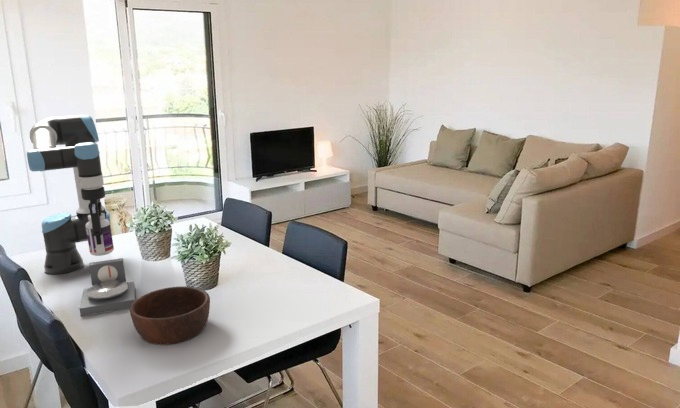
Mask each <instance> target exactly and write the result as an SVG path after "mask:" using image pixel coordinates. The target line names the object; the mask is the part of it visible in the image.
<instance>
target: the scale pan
mask: <svg viewBox="0 0 680 408" xmlns="http://www.w3.org/2000/svg"><path fill="white" fill-rule="evenodd" d="M126 282H127V281H126ZM126 282H124V281H106V282H102V283H98V284H96V285H93V286H92V285H91V286H90V287H88V288H89V289H88V290H87V296H88V297H89V298H91V299H108V298H113V297H116V296H119V295H121V294H123V293H125V292H126V291H127V290H128V284H127V283H126Z"/></svg>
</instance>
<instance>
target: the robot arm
mask: <svg viewBox="0 0 680 408" xmlns="http://www.w3.org/2000/svg"><path fill="white" fill-rule="evenodd" d="M97 131H98V130H97V127H96V124H95V121H94V119H93V117H92V116H91V115H90V114H76V115H75V114H74V115H63V116H50V117H46V118H43V119H42V120H39V121H38V122H36V123H35V124H33V125H32V127H31V129H30V131H29V139H30V142H31V143H32V144H33V145H32V146H33V147H32V148H33V149H29V150H28V151H27V152H26V158H27V165H28V168H29V170H30V171H31V172H45V171H56V170H63V169H72V170H73V175H74V176H73V177H74V181H75V189H76V195H77V200H78V206H79V207H78V208H77V210H76V211H75V213H76V215H72V214H71V213H69V212H62V213H57V214H54V215H53V214H52V215H51V216H49V217H46V218H44V219H43V221H42V222H41V233H42V236H43V240H44V241H43V242H44V247H45V248H44V249H45V254H46V255H45V261H44V265H43V268H44V271H45V273H46V274H51V275H58V274H59V275H60V274H68V273H71V272H74V271H77V270H80V269H81V268H82V267H83V266H84V260H83V258H82V256H81V253H80V252H79V251H78V249H77V243H82V242H83V243H84V242H88V238H87V232H86V223H87V222H89V220H88V215H90V216H91V221H92V228H93V234H91V235H92V236H94V239H95V246H96V252H97V253H102V252H105V248H104V241H103V235H102V232H101V223H100V216H101V213H104V214H105V219H107V220H108V221H109V222H110V223H111V215H110V212H109V210H106V207H105V206H104V205H102V201H101V199H103V198H105V197H106V190H105V187H104V185H105V183H104V178H103V177H104V176H103V172H102V164H101V157H100V150H99V147H98V146H99V145H98V144H97V143H98V142H99V141H100V140H99V133H98V132H97ZM62 145H63V146H64V145H65V147H62ZM57 146H61V147H57Z"/></svg>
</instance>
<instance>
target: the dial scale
mask: <svg viewBox="0 0 680 408" xmlns="http://www.w3.org/2000/svg"><path fill="white" fill-rule="evenodd" d="M88 267H89V274H90V281H91V286H93V285H96V284H98V283H102V282H106V281H124V282H126V283H127V284H128V290H127V291H126V292H125V293H123V294H121V295H119V296H116V297H113V298H108V299H91V298H89V297H88V296H87V290H88V289H89V288H90V287H87V288H86V287H85V288H83V291H82V295H81V300H80V304H79V308H78V310H79V315H80V317H85V316H90V315H97V314H102V313H110V312H113V311H114V312H115V311H121V310H127V309H130V306H131V305H132V303H133V302H134V301H135V300H136V284H135V281H127V277H126V269H125V262H124V258H123V257H122V258H114V259H109V260H108V259H107V260H100V261H99V260H98V261H92V262H89V264H88Z"/></svg>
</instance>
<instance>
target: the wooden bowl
mask: <svg viewBox="0 0 680 408" xmlns="http://www.w3.org/2000/svg"><path fill="white" fill-rule="evenodd" d="M210 305H211V298H210V295H209V293H208V292H207V291H206V290H204V289H201V288H199V287H194V286H171V287H163V288H160V289H155V290H153V291H150V292H147V293H145V294H143V295H142V296H141V295H140V297H138V298H137V299H135V301H134V302H133V303H132V305H131V306H130V308H129V315H130V318H131V321H132V324H133V327H134V329H135V331H136V333H137V334H138V335H139V336H140V338H142V339H143V340H144V341H146V342H148V343H150V344H154V345H161V346H162V345H166V346H167V345H175V344H178V343H182V342H185V341H188V340H191V339H192V338H195V337H196V336H198V335H199V334H200V333H201V332H202V331H203V330H204V328H205V327H206V326H207V323H208V319H209V316H210V309H211V306H210Z"/></svg>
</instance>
